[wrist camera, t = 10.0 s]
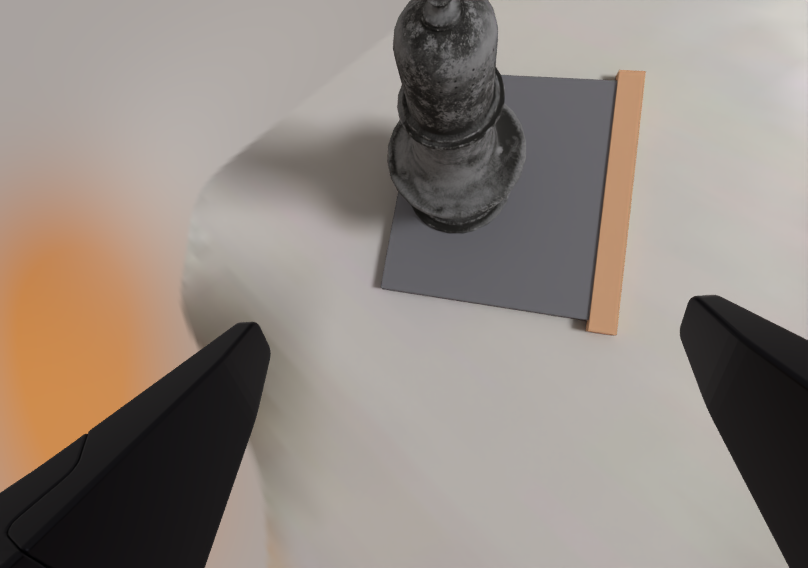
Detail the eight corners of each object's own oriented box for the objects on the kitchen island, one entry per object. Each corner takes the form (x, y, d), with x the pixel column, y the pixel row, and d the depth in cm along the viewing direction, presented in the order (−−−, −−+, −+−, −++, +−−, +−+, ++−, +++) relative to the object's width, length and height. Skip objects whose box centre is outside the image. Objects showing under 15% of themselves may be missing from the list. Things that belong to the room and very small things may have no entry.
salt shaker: (378, 194, 22) (265, 14, 10) (450, 108, 22) (423, -173, 10) (466, 263, 20) (456, 150, 9) (542, 172, 20) (637, -64, 9)
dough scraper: (641, 77, 21) (645, 71, 20) (612, 335, 19) (616, 335, 18) (422, 67, 23) (421, 61, 22) (380, 298, 21) (378, 297, 21)
